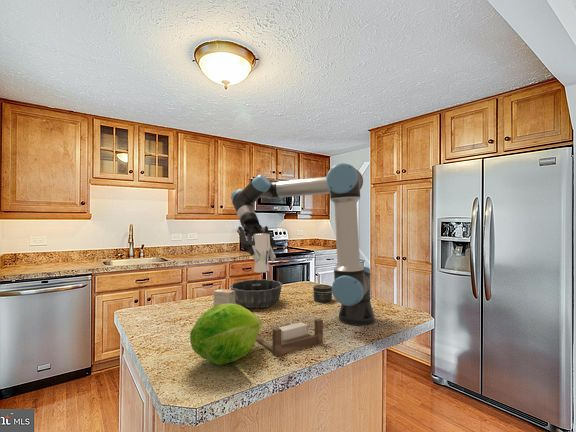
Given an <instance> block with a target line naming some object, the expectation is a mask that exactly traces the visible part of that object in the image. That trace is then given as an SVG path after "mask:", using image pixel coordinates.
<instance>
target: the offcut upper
mask: <svg viewBox="0 0 576 432" xmlns="http://www.w3.org/2000/svg"><path fill="white" fill-rule="evenodd" d="M290 324H291V325H287V326H286V325H283V326H280V327H278V328H280V329H281V339H282V340H286V339H290V338H294V337H297V336H301V335H305V334H307V332H308V324H307V323H303V322H302V321H300V322H297V323H290Z"/></svg>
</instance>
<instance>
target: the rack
mask: <svg viewBox="0 0 576 432" xmlns="http://www.w3.org/2000/svg"><path fill="white" fill-rule="evenodd" d="M291 324H292V323H289V322H288V323H285V326H287V325H291ZM256 342H257V343H258V344H260V345H261V346H262V347H264V348H265V349H267V350H268V351H269V352H270V353H272V355H274V356H275V357H277V356H282V355H284V354H287V353H291V352H296V351H298V350H302V349H305V348H308V347H309V348H310V347H312V346H317V345H321V344H323V343H324V320H323V319H322V318H316V319H314V334H310V336H307V337H303V338H299V339H295V340H291V341H287V342H283V343H281V329H280V328H279V327H275V328H272V345H271V344H270V343H268V342H267V341H266V340H264V339H263V338H262V337H260V336H259V335H257V339H256Z"/></svg>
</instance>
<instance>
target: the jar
mask: <svg viewBox="0 0 576 432" xmlns="http://www.w3.org/2000/svg"><path fill="white" fill-rule="evenodd" d="M312 291H313V292H312V295H313V300H314V302H316V303H320V304H326V303H327V304H328V303H331V302H332V300H333V293H332V285H330V284H315V285H313V289H312Z"/></svg>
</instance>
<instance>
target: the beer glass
mask: <svg viewBox="0 0 576 432" xmlns="http://www.w3.org/2000/svg"><path fill="white" fill-rule="evenodd" d="M270 234H271V233H270ZM270 234H268V233H257V234H253V236H252V246H254V247H255V249H256V251H257V254H258V256H259V260H258V262H257V263H255V262H254V266H253V267H254V269H253V272H254V273H258V274H261V273H262V274H263V273H268V272H270V267H269V258H270V256H269V252H270Z"/></svg>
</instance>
